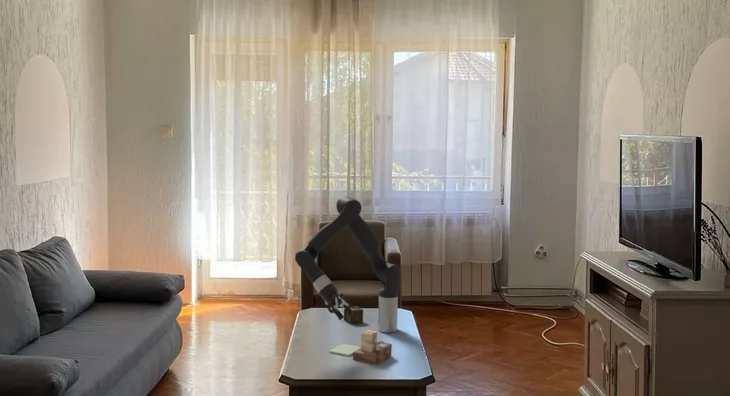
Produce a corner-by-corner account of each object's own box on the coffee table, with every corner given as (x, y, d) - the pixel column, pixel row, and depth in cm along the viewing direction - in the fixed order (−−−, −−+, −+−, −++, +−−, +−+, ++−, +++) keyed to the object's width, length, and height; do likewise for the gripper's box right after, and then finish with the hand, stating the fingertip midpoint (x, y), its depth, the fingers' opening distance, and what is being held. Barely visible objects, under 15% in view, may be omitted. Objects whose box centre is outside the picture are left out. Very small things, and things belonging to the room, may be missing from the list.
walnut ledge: (365, 351, 322) (366, 339, 321) (391, 356, 316) (391, 344, 315) (352, 358, 311) (353, 346, 311) (378, 364, 305) (379, 351, 305)
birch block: (366, 347, 317) (366, 329, 317) (376, 349, 315) (377, 331, 314) (361, 350, 313) (361, 332, 312) (371, 352, 311) (371, 334, 310)
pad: (342, 345, 330) (342, 343, 330) (362, 349, 325) (362, 347, 325) (329, 352, 319) (329, 350, 319) (349, 356, 314) (349, 354, 314)
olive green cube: (343, 321, 372) (344, 307, 371) (356, 319, 375) (356, 306, 374) (350, 325, 365) (350, 310, 365) (362, 323, 369) (363, 309, 368)
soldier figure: (382, 353, 323) (358, 342, 326) (382, 358, 327) (358, 347, 330) (390, 339, 327) (366, 328, 330) (389, 343, 330) (366, 332, 334)
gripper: (322, 285, 314) (344, 315, 310) (338, 279, 327) (360, 308, 323) (311, 295, 317) (333, 325, 313) (328, 289, 330) (349, 317, 326)
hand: (347, 316), depth 318 cm, fingers open, 8 cm apart
